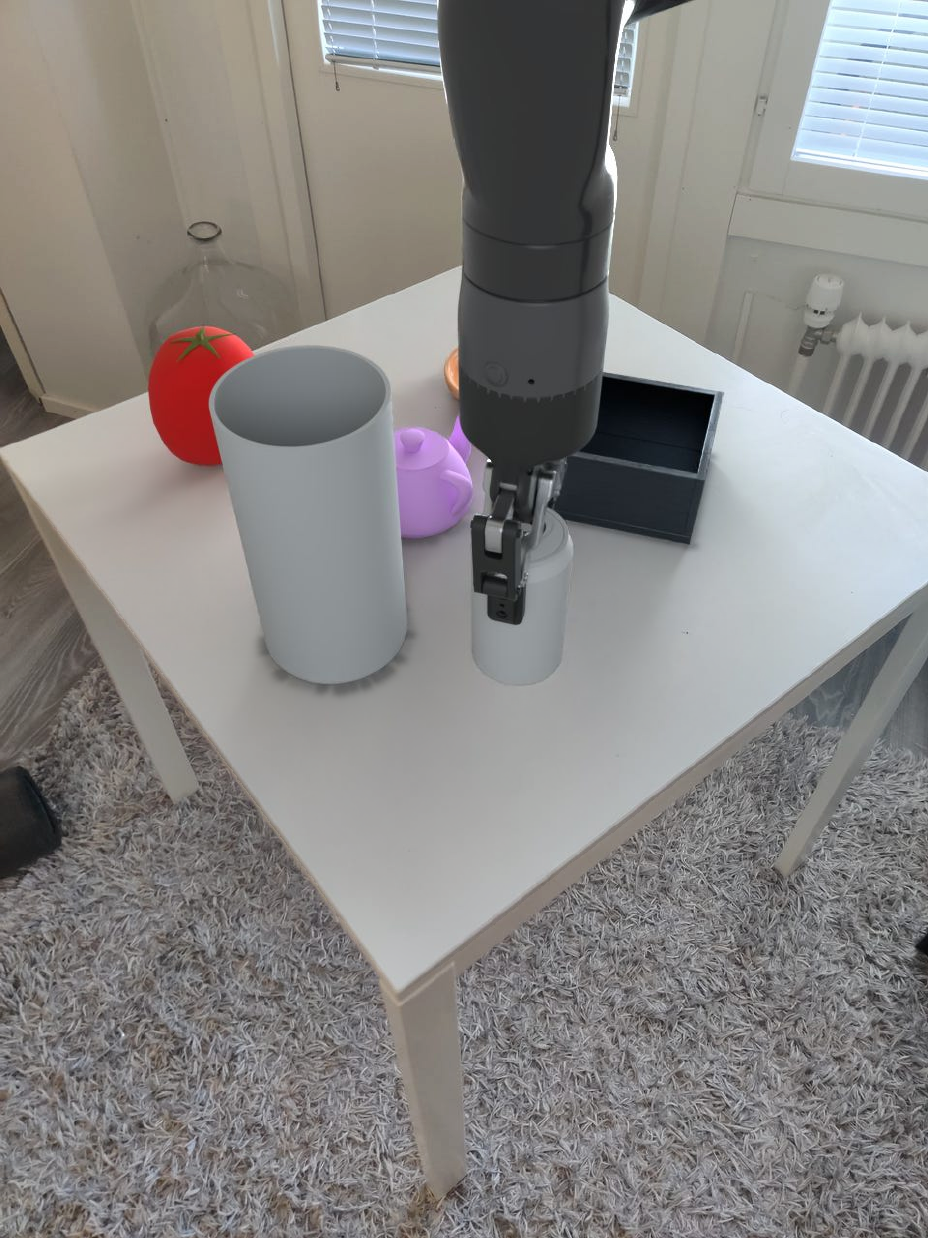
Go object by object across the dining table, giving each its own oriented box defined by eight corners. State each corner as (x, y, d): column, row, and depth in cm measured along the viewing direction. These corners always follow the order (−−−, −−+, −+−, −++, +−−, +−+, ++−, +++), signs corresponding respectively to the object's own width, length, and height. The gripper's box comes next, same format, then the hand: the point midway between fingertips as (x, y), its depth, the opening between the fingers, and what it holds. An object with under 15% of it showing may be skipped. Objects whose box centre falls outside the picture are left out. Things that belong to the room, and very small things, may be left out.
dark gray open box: (709, 455, 101) (724, 391, 95) (689, 545, 91) (705, 480, 86) (575, 431, 104) (582, 367, 98) (543, 515, 94) (548, 451, 88)
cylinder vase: (370, 706, 78) (340, 467, 60) (239, 663, 82) (172, 424, 63) (429, 604, 86) (419, 365, 68) (308, 569, 89) (266, 331, 71)
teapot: (477, 467, 100) (478, 396, 93) (472, 558, 90) (472, 486, 84) (365, 464, 100) (358, 393, 93) (348, 554, 91) (339, 483, 84)
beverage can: (575, 640, 67) (590, 512, 58) (542, 705, 63) (552, 579, 55) (493, 613, 69) (495, 485, 60) (456, 675, 65) (452, 548, 56)
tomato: (204, 500, 96) (171, 380, 86) (143, 451, 101) (105, 333, 91) (301, 446, 102) (282, 328, 92) (239, 403, 108) (214, 286, 97)
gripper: (572, 445, 43) (550, 676, 55) (629, 292, 52) (600, 519, 64) (416, 417, 44) (429, 648, 57) (498, 273, 54) (494, 499, 66)
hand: (520, 579), depth 61 cm, fingers closed on beverage can, 6 cm apart
